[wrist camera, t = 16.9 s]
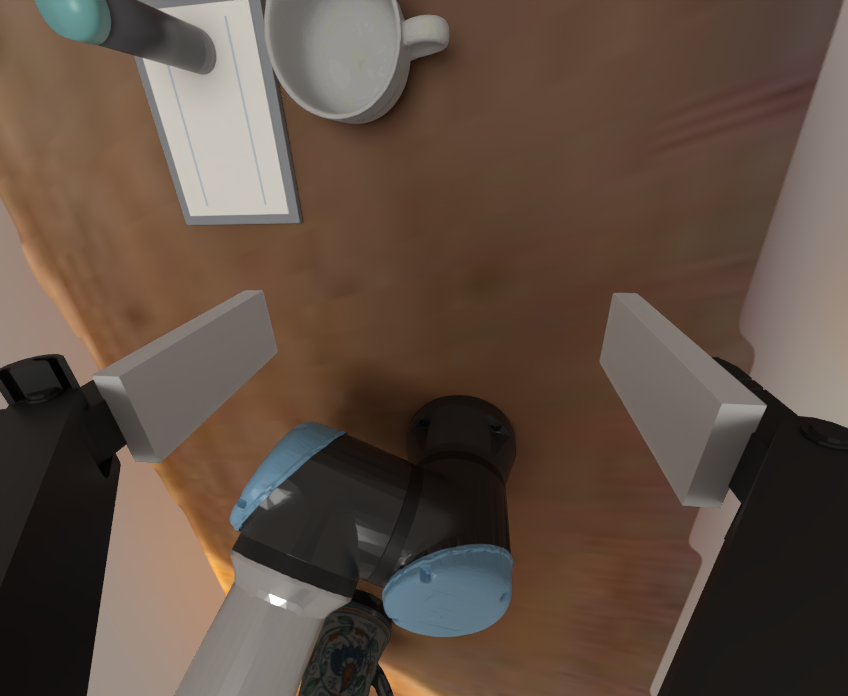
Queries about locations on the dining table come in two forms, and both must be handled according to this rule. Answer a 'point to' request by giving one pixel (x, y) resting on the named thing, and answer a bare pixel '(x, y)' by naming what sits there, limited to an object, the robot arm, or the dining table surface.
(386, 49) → the teacup
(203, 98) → the small whiteboard
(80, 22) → the marker
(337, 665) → the beer stein
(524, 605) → the dining table surface
